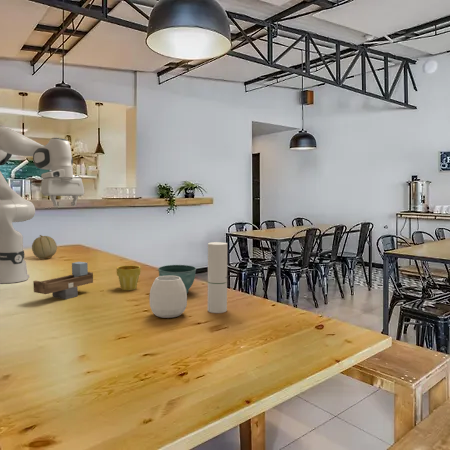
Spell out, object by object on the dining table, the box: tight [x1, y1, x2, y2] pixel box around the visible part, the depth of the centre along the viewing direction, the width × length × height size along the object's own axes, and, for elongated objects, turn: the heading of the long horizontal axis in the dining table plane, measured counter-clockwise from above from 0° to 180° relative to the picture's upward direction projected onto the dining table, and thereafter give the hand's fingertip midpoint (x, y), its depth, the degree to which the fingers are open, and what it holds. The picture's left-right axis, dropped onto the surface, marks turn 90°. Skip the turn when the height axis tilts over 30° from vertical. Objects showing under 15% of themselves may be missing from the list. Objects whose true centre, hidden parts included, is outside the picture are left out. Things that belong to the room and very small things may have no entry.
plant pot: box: [116, 264, 141, 291], centre depth 188 cm, size 10×10×10 cm
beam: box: [32, 271, 94, 300], centre depth 174 cm, size 8×24×8 cm, turn 151°
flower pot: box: [157, 264, 197, 294], centre depth 182 cm, size 16×16×11 cm
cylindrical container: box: [207, 241, 228, 314], centre depth 155 cm, size 7×7×25 cm
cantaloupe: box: [31, 234, 58, 260], centre depth 266 cm, size 15×15×15 cm
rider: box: [71, 261, 89, 278], centre depth 180 cm, size 5×4×7 cm
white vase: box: [149, 275, 188, 319], centre depth 149 cm, size 13×13×14 cm
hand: (65, 206), depth 185 cm, fingers open, 8 cm apart
